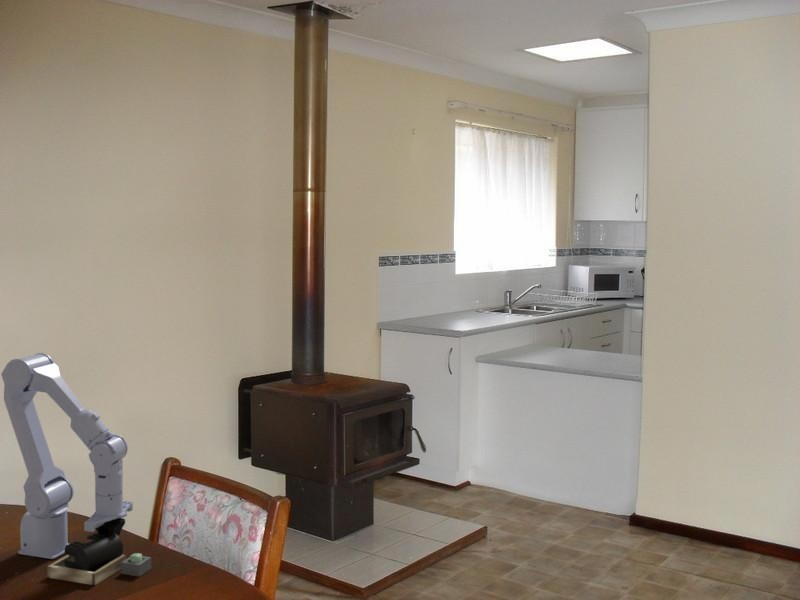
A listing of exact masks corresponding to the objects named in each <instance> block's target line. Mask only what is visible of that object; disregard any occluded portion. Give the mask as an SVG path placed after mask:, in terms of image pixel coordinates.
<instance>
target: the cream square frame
mask: <svg viewBox="0 0 800 600" xmlns="http://www.w3.org/2000/svg"><path fill="white" fill-rule="evenodd" d="M126 556H127V555H126V554H122V555H121V556H119V557H118V558H116V559H114V560H113V561H111V562H110V563H108V564H106V565H105V566H103V567H102V568H100V569H98V570H97V571H95V572H91V571H85V570H79V569H73V568H66V567H65V560H70V561H73V562H75V559H74V557H73V556H69V555H65V556H63V557H61V558H59V559H58V560H56V561H53V563H50V564H49V565H47V566H46V569H47V570H46V572H47V574H46V576H47V578H48V579H55V580H60V581H67V582H72V583H78V584H84V585H90V586H97V585H98V584H100V583H102V582H103V581H104V580H106V579H108V578H109V577H111V576H113V575H114V574H115V573H117V572H118V571H121V562H122V561H124V560H125V559H127V558H126Z"/></svg>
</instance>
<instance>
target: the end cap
mask: <svg viewBox="0 0 800 600" xmlns="http://www.w3.org/2000/svg"><path fill="white" fill-rule="evenodd" d="M86 539H87V540H91V541H89V542H80V541H73V542H70V544H68V545H66V546H65V553H64V555H65V556H66V555H69V556H73V557H74V559H75V562H73V561H70V560H65V567H66V568H73V569H79V570H85V571H91V572H95V571H97V570H98V569H100V568H102V567H103V566H105V565H106V564H108V563H110V562H111V561H113V560H114V559H116V558H118V557H119V556H121V555H124V554H123V553H124V545H123V541H122V539H121V537H120V535H119V536H118V535H116V534H115V533H110V534H108V535H102V534H98V532H93V534H90V535H87V536H86Z"/></svg>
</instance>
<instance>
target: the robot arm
mask: <svg viewBox="0 0 800 600" xmlns="http://www.w3.org/2000/svg"><path fill="white" fill-rule="evenodd" d="M1 377H2V381H3V383H4V388H3V389H4V390H3V401H4V405H5V407H6V410H7V414H8V416H9V420H10V422H11V426H12V428H13V429H12V430H13V431H14V434H15V438H16V440H17V443H18V446H19V449H20V452H21V455H22V458H23V462H24V464H25V468H26V471H27V474H28V475H27V478H26V480H25V482H24V484H23V491H24V506H25V509H26V510H27V511H26V512H25V513H24V514H23V516H22V518H21V520H20V527H19V531H20V533H19V534H20V549H19V550H18V551H17V553H18V554H19V555H24V556H29V557H37V558H44V559H50V560H54V559H57V558H59V557H60V556H62V555H65V546H66V545H68V544H71V542H70V543H68V541H69V539H68V537H69V536H68V508H69V503H70V502H71V501H72V499H73V497H74V488H73V485H72V483H71V482H70V481H69V480H68V477H66V475H65V472H64V470H63V469H61V468H59V467H57V466H56V465H55V464H54V460H53V457H52V454H51V451H50V448H49V445H48V442H47V440H46V439H47V438H46V437H45V433H44V430H43V427H42V424H41V421H40V418H39V415H38V411H37V409H36V406H35V402H34V401H33V399H34V398H35V396H36V394H37V392H38V393H39V392H40V393H46V394H47V395H48V397H50V398H51V399H52V400H53V401H54V403H56V404H57V406H58V407H60V409H61V410H62V411H63V412H64V413H65V414H66V415H67V417H68V418H70V428H71V430H72V431H73V432H74V434H75V435H76V436H77V437H78V438H79V439H80V440H81V442H82V443H83V444H84V445H85V447H86V448H87V449H88V450H89V451H90V452H89V453H88V458H89V461H90V463H91V464H92V465H93V472H94V495H95V496H94V497H95V501H94V502H95V504H94V506H95V511H94V513H93V514H92V515H91V516H90V517H89V518H88V519H87V520H86V521H84V522H83V523H84V525H83V526H84V532H91V533H94V532H95V531H97V532H96V533H98V534H102V535H108V534H110V533H115V534H116V535H118V536H119V537H120V534H121V532H122V529H123V527H124V526H125V524H126V519H125V518H126V517H127V516H128V513H127V512H131V511H133V501H126V500H125V501H124V493H123V492H124V490H123V489H124V487H123V486H124V484H123V483H124V482H123V481H124V480H123V479H124V475H123V473H124V472H123V471H124V470H123V469H124V468H123V467H124V466H123V459H124V458H125V457H126V455H127V454H128V444H127V441H126V440H125V439H124V437H123V436H122V435H120V434H116V433H114V432H113V431H112V430H109V428H108V427H107V426H106V424H105V423H104V422H103V421H102V420H101V418H100V417H101V416H100V414H99V412H95V411H94V410H92V409H87V408H84V405H82V404H81V402H80V401H79V399H78V397H77V396H76V395H75V394H74V392H73V391H72V389H71V388H70V387H69V385H68V384H67V382H66V381H65V380H64V377H62V375H61V371H60V367H59V365H57V364H56V363H55V362H54V359H53V358H52V357H51V356H50V355H49V354H47V353H44V352H38V353H35V354H33V355H29V356H26V357H20V358H14V359H12V360H10V361H9V362H7V364H6V365H5V367H4V369H3V370H2V371H1Z"/></svg>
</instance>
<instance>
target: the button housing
mask: <svg viewBox="0 0 800 600" xmlns="http://www.w3.org/2000/svg"><path fill="white" fill-rule="evenodd" d="M151 569H152V557H151V556H146V555H145V556H144V555H142V561H141V562H139V563H134V562H130V556H129V557H127V558H126V559H125V560H124V561H122V562H121V569H120V574H121V575H127V576H133V577H138V578H139V577H141V576H143V575H144V574H146V573H147V572H148V571H150V570H151Z"/></svg>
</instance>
